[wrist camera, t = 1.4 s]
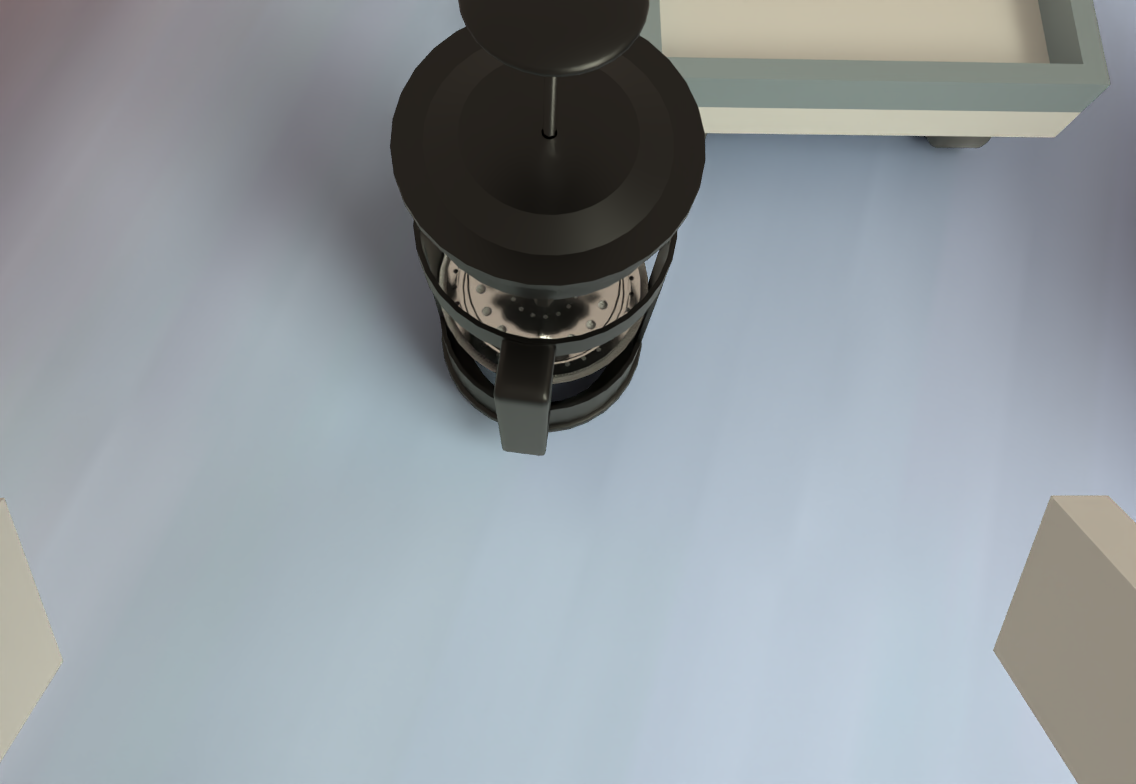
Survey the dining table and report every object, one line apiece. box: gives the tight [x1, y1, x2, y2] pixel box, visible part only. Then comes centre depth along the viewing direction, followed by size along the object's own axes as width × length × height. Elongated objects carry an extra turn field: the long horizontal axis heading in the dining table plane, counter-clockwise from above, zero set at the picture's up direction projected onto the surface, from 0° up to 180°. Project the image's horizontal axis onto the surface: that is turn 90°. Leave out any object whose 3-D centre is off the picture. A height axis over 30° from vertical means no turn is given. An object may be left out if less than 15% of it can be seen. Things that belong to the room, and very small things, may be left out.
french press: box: [390, 0, 705, 456], centre depth 29 cm, size 12×9×23 cm
